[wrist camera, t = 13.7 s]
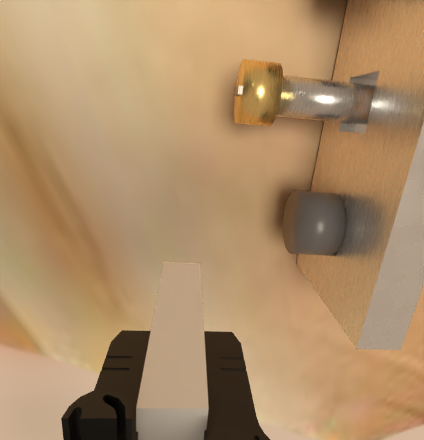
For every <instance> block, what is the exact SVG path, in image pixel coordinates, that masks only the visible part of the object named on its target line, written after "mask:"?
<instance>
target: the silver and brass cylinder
mask: <svg viewBox="0 0 424 440" xmlns="http://www.w3.org/2000/svg"><path fill="white" fill-rule="evenodd" d="M375 88H376V85H368V84H358V83H349V82H339V81H330V80H320V79H311V78H301V77H292V76H283V71H282V66H281V64H280V63H273V62H264V61H254V60H245V59H243V60H242V61H241V64H240V68H239V72H238V77H237V83H236V88H235V93H234V96H235V101H234V121H235V123H239V124H250V125H261V126H271V125H272V124H273V122H274V120H275V118H276V116H278V117H289V118H299V119H310V120H321V121H331V122H342V123H353V124H363V125H367V122H368V117H369V113H370V109H371V105H372V101H373V97H374V92H375Z"/></svg>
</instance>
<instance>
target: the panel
mask: <svg viewBox="0 0 424 440" xmlns="http://www.w3.org/2000/svg"><path fill="white" fill-rule="evenodd" d="M332 81H339V82H349V83H358V84H368V85H376V88H375V92H374V97H373V101H372V105H371V109H370V113H369V117H368V122H367V125H363V124H353V123H342V122H331V121H324V125H323V130H322V135H321V140H320V145H319V150H318V156H317V161H316V166H315V171H314V176H313V181H312V186H311V191H312V192H326V193H335V194H337V195H338V196H339V197H340V198H341V200H342V202H343V205H344V208H345V209H346V213H345V214H346V228H345V234H344V238H343V241H342V244H341V246H340V248H339V249H338V251H337V252H336V253H335V254H333V255H331V256H323V255H305V254H298V258H297V265H298V266H299V267H300V269H301V270H302V272H303V273H304V275H305V276H306V277H307V279H308V280H309V282H310V283H311V285H312V286H313V287H314V289H315V290H316V292H317V293H318V295H319V296H320V297H321V299H322V300H323V302H324V303H325V305H326V306H327V307H328V309H329V310H330V312H331V313H332V315H333V316H334V317H335V319H336V320H337V322H338V323H339V325H340V326H341V327H342V329H343V330H344V332H345V333H346V335H347V336H348V337H349V339H350V340H351V342H352V343H353V345H354V346H355V347H356V349H378V350H401V347H402V344H403V342H404V339H405V336H406V333H407V330H408V328H409V325H410V322H411V319H412V316H413V313H414V311H415V308H416V305H417V302H418V299H419V297H420V294H421V291H422V288H423V285H424V0H348V3H347V8H346V13H345V18H344V23H343V28H342V33H341V38H340V43H339V48H338V54H337V59H336V64H335V69H334V74H333V79H332Z"/></svg>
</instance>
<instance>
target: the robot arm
mask: <svg viewBox="0 0 424 440" xmlns="http://www.w3.org/2000/svg"><path fill="white" fill-rule="evenodd" d="M61 419H62V428H63V438H64V440H270V439H269V438H268V437H267V436H266V435H265V434H264V432H263V430H262V429H261V427H260V425H259V423H258V420H257V417H256V413H255V408H254V403H253V399H252V394H251V389H250V385H249V380H248V375H247V371H246V366H245V361H244V357H243V352H242V347H241V343H240V342H239V341H238V339H237V338H236V337H235V335H234V334H233V333H232V332H208V331H204V319H203V302H202V285H201V268H200V263H189V262H166V261H164V263H163V268H162V274H161V279H160V284H159V290H158V295H157V300H156V306H155V311H154V316H153V322H152V327H151V331H124V330H122V331H121V332H120V333H119V334H118V335H117V336H116V337H115V338H114V340H113V341H112V342H111V344H110V347H109V350H108V353H107V355H106V359H105V361H104V364H103V367H102V371H101V372H100V375H99V378H98V381H97V384H96V387H95V389H94V391H92V392H90V393H88V394H86V395H84V396H81V397H80V398H79V399H77V400H76V401H75V402H74V403H73V404H71V406H69V408H68V409H67V411H66V412H65V414H64V415H63V417H62V418H61Z"/></svg>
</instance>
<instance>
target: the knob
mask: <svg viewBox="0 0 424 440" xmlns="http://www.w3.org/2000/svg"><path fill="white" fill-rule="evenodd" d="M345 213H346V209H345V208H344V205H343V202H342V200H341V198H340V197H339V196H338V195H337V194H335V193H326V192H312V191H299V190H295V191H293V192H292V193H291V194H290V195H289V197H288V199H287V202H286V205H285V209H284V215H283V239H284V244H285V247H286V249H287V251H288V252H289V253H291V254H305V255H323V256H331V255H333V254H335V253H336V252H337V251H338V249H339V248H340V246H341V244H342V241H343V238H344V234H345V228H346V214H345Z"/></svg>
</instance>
